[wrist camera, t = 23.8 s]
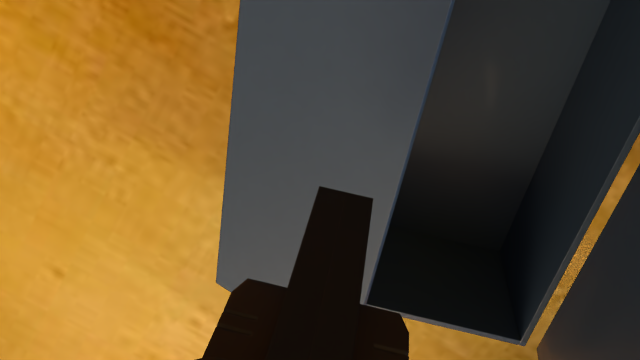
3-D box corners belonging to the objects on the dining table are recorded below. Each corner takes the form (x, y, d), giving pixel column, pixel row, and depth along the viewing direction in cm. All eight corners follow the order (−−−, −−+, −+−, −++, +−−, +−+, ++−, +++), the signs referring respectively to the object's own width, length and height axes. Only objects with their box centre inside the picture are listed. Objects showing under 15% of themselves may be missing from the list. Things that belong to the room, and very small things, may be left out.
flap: (349, 361, 22) (345, 366, 22) (219, 279, 25) (215, 282, 25) (489, -116, 13) (486, -117, 13) (259, -158, 16) (253, -160, 16)
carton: (516, 256, 31) (586, 510, 18) (258, 197, 32) (156, 402, 19) (670, -75, 22) (1024, -22, 9) (302, -147, 22) (161, -189, 10)
